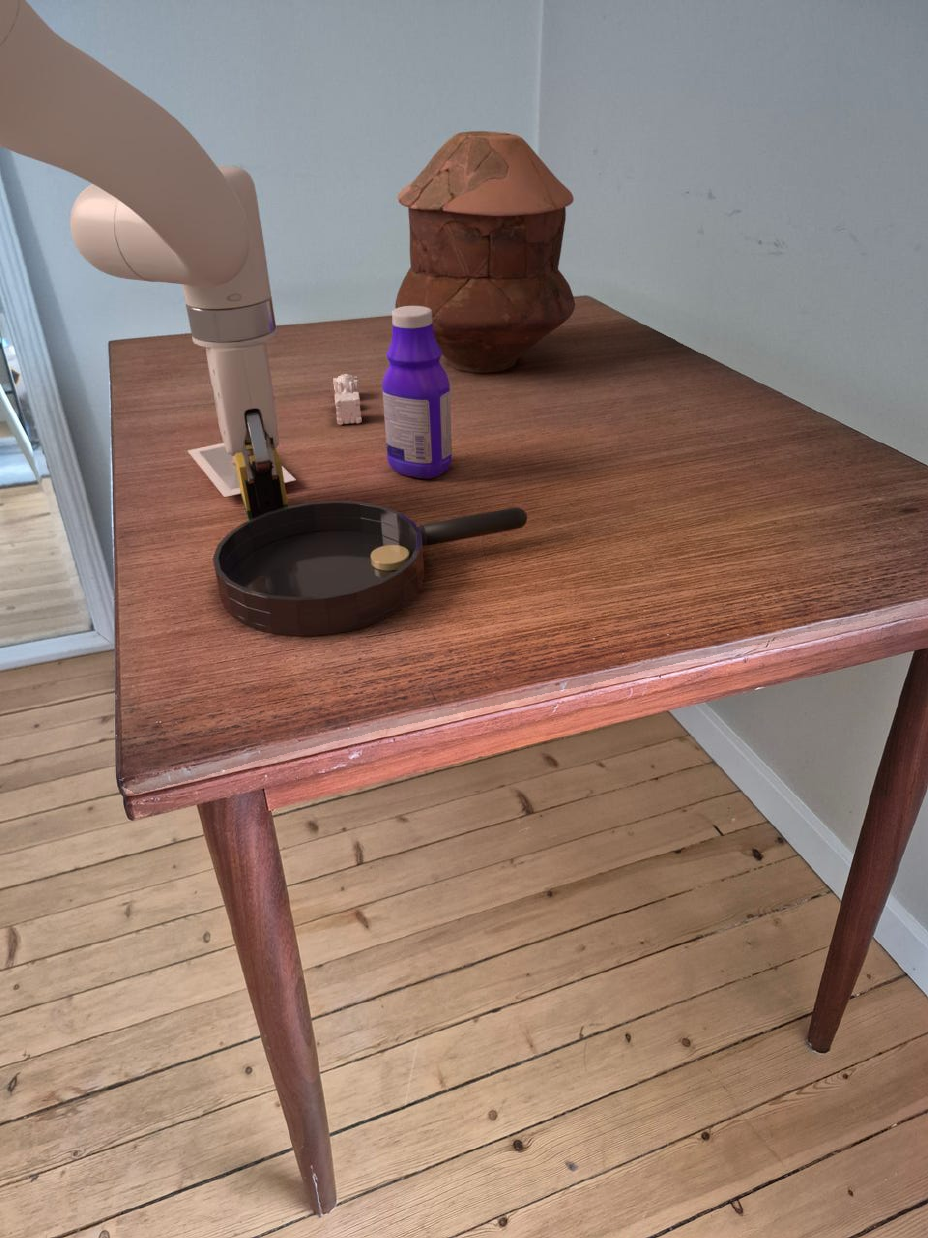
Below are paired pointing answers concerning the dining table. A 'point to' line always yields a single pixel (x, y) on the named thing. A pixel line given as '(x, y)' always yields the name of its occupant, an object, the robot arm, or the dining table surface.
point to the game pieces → (347, 399)
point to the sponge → (243, 476)
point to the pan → (317, 568)
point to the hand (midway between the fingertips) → (263, 501)
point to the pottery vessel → (487, 249)
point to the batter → (389, 557)
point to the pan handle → (472, 526)
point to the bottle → (416, 397)
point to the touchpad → (223, 468)
